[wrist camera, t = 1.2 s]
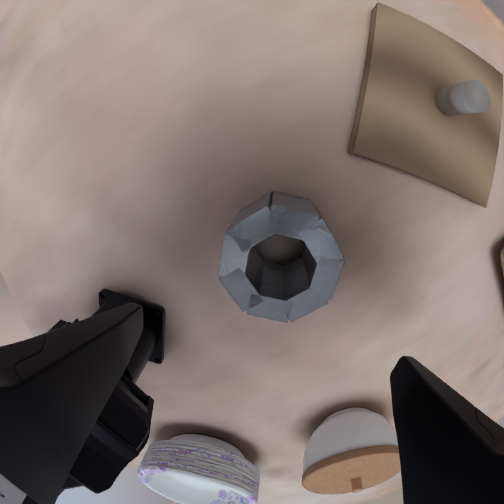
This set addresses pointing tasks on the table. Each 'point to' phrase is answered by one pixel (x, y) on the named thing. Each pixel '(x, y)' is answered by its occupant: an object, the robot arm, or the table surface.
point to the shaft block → (428, 106)
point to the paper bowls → (199, 471)
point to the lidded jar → (350, 453)
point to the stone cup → (502, 259)
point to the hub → (273, 275)
